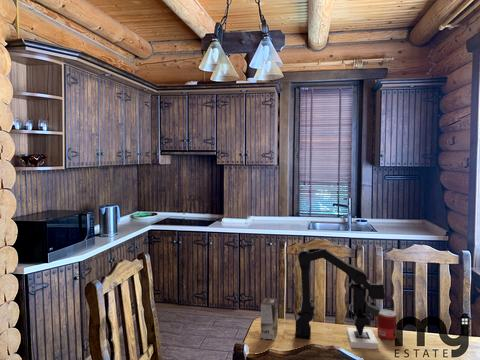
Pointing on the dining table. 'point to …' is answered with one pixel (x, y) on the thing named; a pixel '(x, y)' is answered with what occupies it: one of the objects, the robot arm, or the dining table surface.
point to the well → (362, 343)
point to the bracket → (362, 335)
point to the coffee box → (269, 318)
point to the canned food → (386, 324)
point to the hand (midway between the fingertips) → (359, 332)
